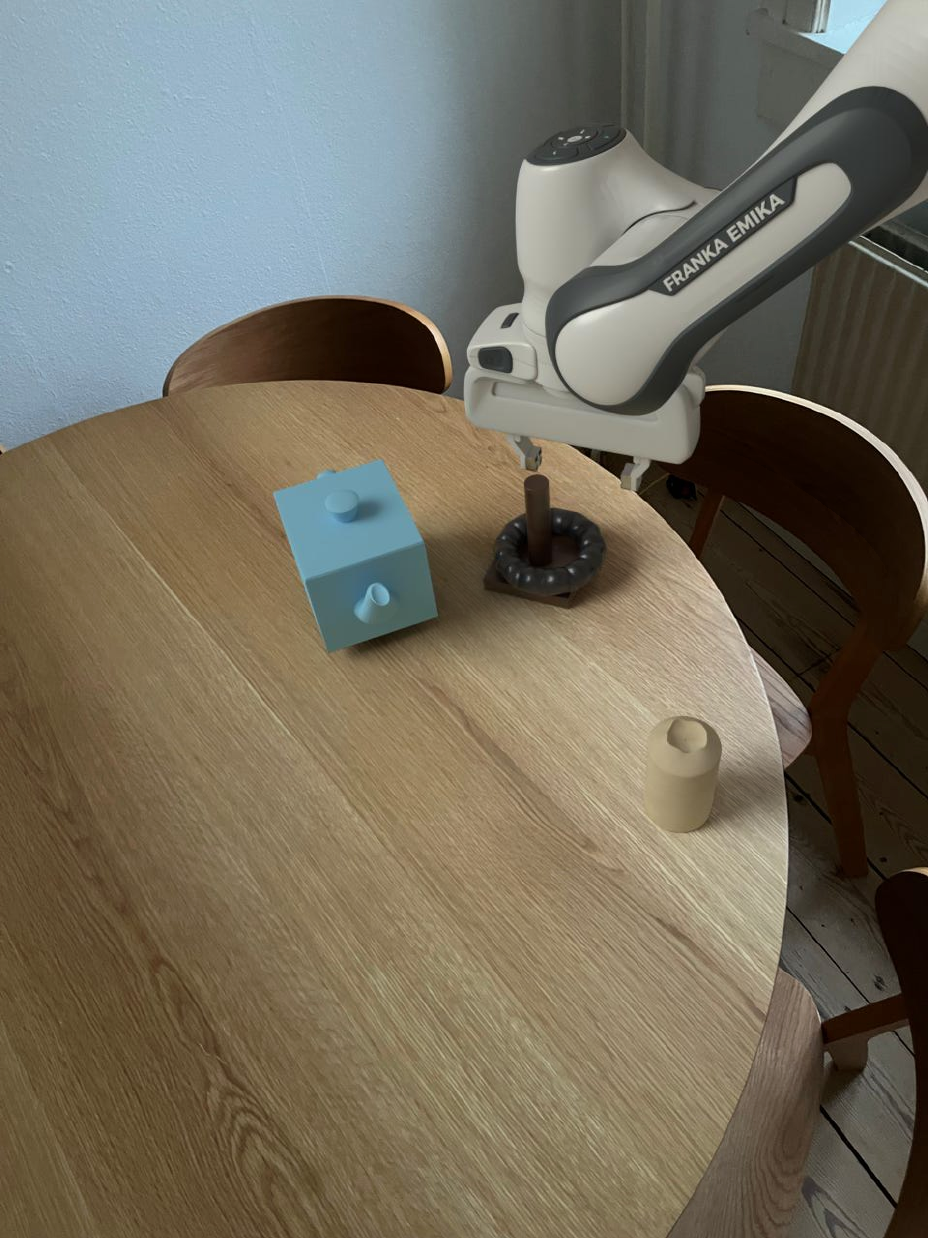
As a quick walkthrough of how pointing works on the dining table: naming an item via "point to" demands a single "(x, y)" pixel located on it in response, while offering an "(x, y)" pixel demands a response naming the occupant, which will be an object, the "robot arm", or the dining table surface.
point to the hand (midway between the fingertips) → (580, 476)
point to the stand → (538, 545)
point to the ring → (553, 578)
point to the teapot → (357, 554)
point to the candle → (681, 773)
